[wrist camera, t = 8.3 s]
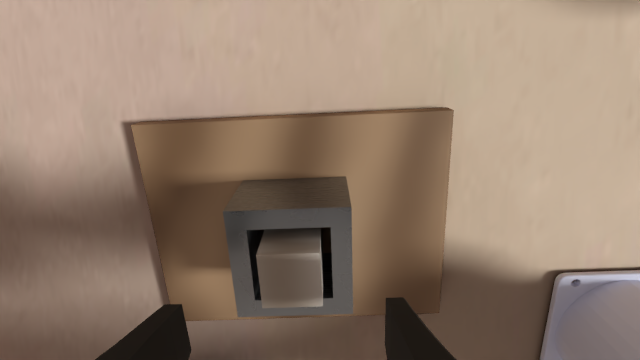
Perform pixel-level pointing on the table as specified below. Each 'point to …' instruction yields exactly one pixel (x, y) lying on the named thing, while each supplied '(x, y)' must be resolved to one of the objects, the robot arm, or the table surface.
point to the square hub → (286, 213)
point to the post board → (302, 151)
